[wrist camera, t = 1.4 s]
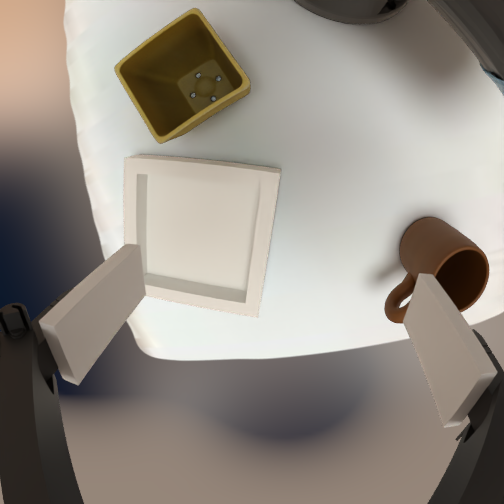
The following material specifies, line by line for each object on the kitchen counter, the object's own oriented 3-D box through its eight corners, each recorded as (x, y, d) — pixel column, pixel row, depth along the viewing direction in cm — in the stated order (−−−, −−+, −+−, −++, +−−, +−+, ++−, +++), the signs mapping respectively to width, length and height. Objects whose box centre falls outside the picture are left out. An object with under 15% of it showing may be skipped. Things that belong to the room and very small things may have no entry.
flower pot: (153, 79, 28) (110, 67, 20) (219, 34, 25) (195, 4, 17) (192, 141, 30) (158, 146, 22) (262, 98, 28) (253, 85, 20)
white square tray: (139, 154, 31) (124, 157, 28) (281, 169, 31) (280, 173, 27) (139, 278, 38) (127, 291, 35) (260, 301, 37) (257, 317, 34)
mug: (384, 304, 35) (406, 352, 27) (355, 260, 33) (375, 303, 25) (458, 252, 31) (497, 287, 23) (436, 202, 30) (479, 228, 21)
